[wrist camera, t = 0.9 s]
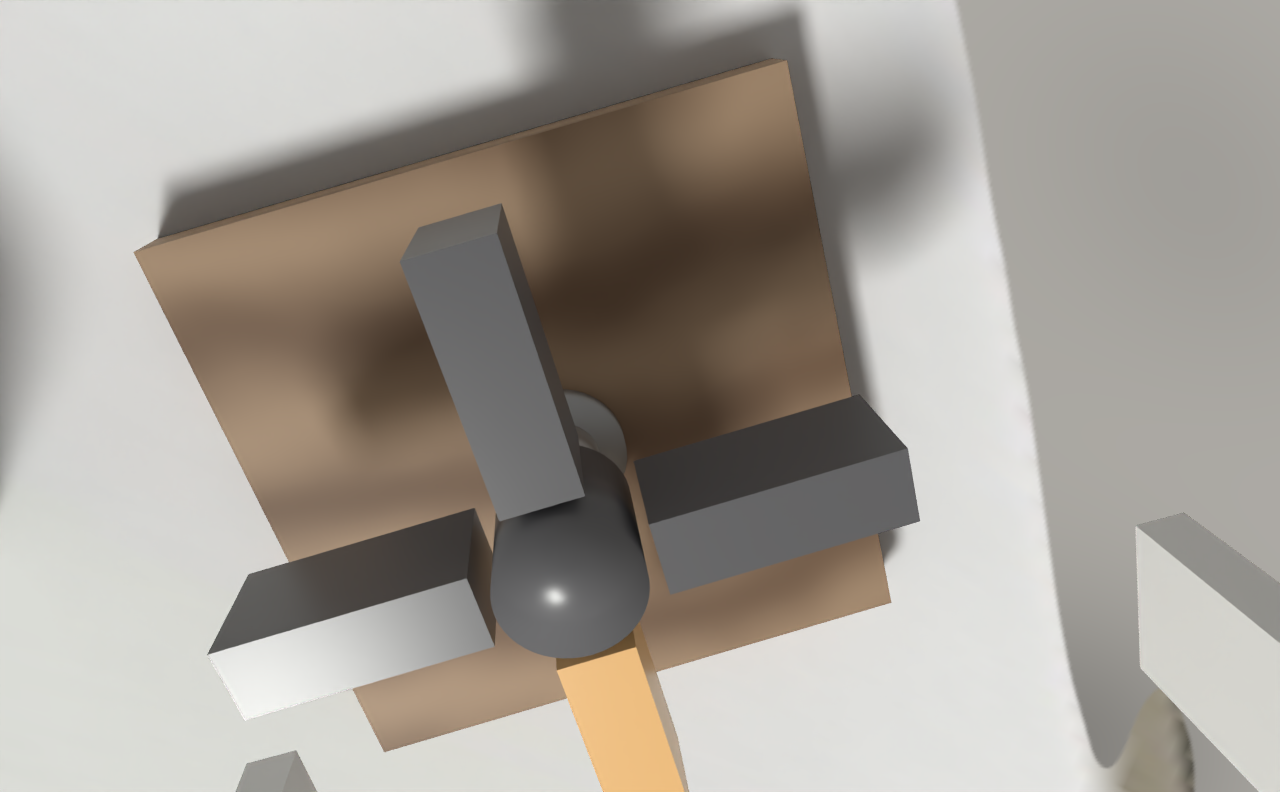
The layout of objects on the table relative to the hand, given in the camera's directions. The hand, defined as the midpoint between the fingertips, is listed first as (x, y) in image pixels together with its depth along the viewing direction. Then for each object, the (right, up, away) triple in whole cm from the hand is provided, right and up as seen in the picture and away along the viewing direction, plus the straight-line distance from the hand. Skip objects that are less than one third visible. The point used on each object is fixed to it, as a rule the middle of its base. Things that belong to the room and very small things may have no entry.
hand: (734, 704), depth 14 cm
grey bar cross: (-4, +1, +16) cm, 16 cm away
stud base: (-5, +3, +22) cm, 22 cm away
